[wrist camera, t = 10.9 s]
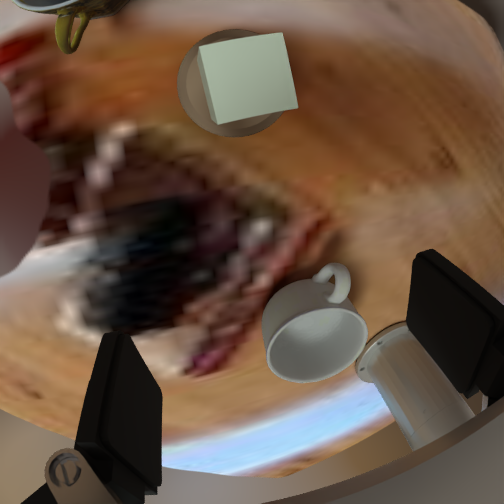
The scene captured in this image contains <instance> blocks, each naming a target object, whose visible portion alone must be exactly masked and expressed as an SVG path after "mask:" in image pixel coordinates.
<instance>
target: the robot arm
mask: <svg viewBox="0 0 504 504" xmlns="http://www.w3.org/2000/svg"><path fill="white" fill-rule="evenodd" d="M355 369H356V373H357V375H358V377H359V378H360V379H361V380H362V381H364V382H368V383H374V384H375V386H376V388H377V389H378V391H379V393H380V394H381V396H382V398H383V399H384V401H385V403H386V405H387V406H388V408H389V410H390V411H391V413H392V415H393V417H394V418H395V420H396V422H397V424H398V425H399V427H400V429H401V431H402V432H403V434H404V436H405V438H406V439H407V441H408V443H409V445H410V447H411V448H412V450H413V452H411V453H409V454H407V455H405V456H403V457H401V458H399V459H397V460H394V461H392V462H390V463H388V464H385V465H383V466H381V467H379V468H376V469H374V470H371V471H369V472H366V473H364V474H361V475H358V476H356V477H353V478H350V479H348V480H345V481H342V482H339V483H336V484H333V485H330V486H327V487H324V488H320V489H317V490H314V491H310V492H307V493H303V494H300V495H296V496H292V497H288V498H284V499H280V500H276V501H271V502H266V503H262V504H504V305H503V304H501V303H500V302H499V301H498V300H497V299H496V298H495V297H493V296H492V295H491V294H490V293H489V292H487V291H486V290H485V289H484V288H483V287H481V286H480V285H479V284H478V283H477V282H475V281H474V280H473V279H472V278H470V277H469V276H468V275H467V274H465V273H464V272H463V271H462V270H460V269H459V268H458V267H457V266H455V265H454V264H453V263H451V262H450V261H449V260H448V259H446V258H445V257H444V256H442V255H441V254H440V253H438V252H437V251H436V250H434V249H429V250H425V251H422V252H419V253H418V254H417V255H416V258H415V259H414V260H413V263H412V275H411V285H410V294H409V302H408V310H407V317H406V322H403V323H399V324H395V325H393V326H391V327H389V328H387V329H385V330H383V331H382V332H381V333H379V334H378V335H376V336H375V337H374V338H373V339H372V340H371V341H370V342H369V343H368V344H367V345H366V346H365V347H364V349H363V351H362V352H361V354H360V355H359V357H358V359H357V362H356V367H355ZM451 383H452V384H451ZM454 387H455V388H454ZM479 390H481V392H482V393H483V403H482V412H480V413H479V414H477V415H476V416H475V415H474V413H473V412H472V410H471V409H470V408H469V406H468V405H467V404H466V402H465V401H464V400H463V398H462V397H461V396H460V394H459V393H463V394H464V395H465V397H466V398H467V399H468V398H470V397H471V396H473V395H474V394H476V393H477V392H479ZM457 391H458V392H459V393H458V392H457ZM45 479H46V483H45V484H44V485H43V486H41V487H40V488H39V489H38V490H37V491H35V492H34V493H33V494H32V495H31V496H29V497H28V498H27V499H26V500H24V501H23V502H22V503H21V504H144V503H145V495H157V486H161V484H162V392H161V389H160V387H159V385H158V384H157V382H156V381H155V379H154V377H153V376H152V374H151V372H150V371H149V369H148V367H147V365H146V364H145V362H144V360H143V359H142V357H141V355H140V353H139V351H138V350H137V348H136V346H135V344H134V342H133V341H132V339H131V337H130V335H128V334H124V333H123V332H122V331H115V332H110V333H105V334H104V335H103V337H102V340H101V343H100V346H99V350H98V353H97V357H96V360H95V364H94V367H93V371H92V375H91V379H90V381H89V383H88V387H87V391H86V395H85V399H84V404H83V408H82V412H81V417H80V421H79V426H78V430H77V435H76V440H75V446H74V449H70V448H65V449H61V450H59V451H57V452H55V453H54V454H53V455H52V456H51V457H50V458H49V460H48V461H47V463H46V467H45Z"/></svg>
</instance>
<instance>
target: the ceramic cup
mask: <svg viewBox="0 0 504 504" xmlns="http://www.w3.org/2000/svg"><path fill="white" fill-rule="evenodd" d="M12 1H13V2H14V3H15V4H16V5H17V6H19V7H20V8H22V9H25V10H28V11H33V12H38V13H44V14H55V15H59V16H58V18H57V21H56V27H55V33H56V40H57V43H58V46H59V48H60V49H61V50H62V52H64V53H65V54H72V53H73V52H75V51H76V50H77V48H78V46H79V44H80V41H81V38H82V35H83V32H84V30H85V29H86V27H87V25H88V23H89V20H92V19H97V18H102V17H107V16H112V15H115V14H116V13H117V12H118V11H119V10H120V9H121V8H122V7H123V6H124V5H125V4H126V3H127V2H128V1H130V0H12ZM74 17H77V18H81V23H80V26H79V28H78V29H77V31H76V33H75V35H74V38H73V41H72V43H70V35H71V30H72V25H73V21H74Z"/></svg>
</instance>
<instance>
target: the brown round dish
mask: <svg viewBox="0 0 504 504" xmlns="http://www.w3.org/2000/svg"><path fill="white" fill-rule="evenodd" d="M258 35H259V34H257V33H254V32H251V31H247V30H239V29H233V30H223V31H220V32H216V33H213V34H211V35H209V36H207V37H205V38H203V39H202V40H200V41H199V42H197V43H196V44H195V45H194V46H193V47H192V48H191V49H190V50H189V52H188V53H187V54H186V56H185V57H184V59H183V61H182V63H181V66H180V68H179V72H178V78H177V90H178V95H179V99H180V102H181V104H182V106H183V108H184V110H185V111H186V113H187V114H188V116H189V117H190V118H191V119H192V120H193V121H194V122H195V123H196V124H197V125H199V126H200V127H202V128H203V129H205V130H207V131H209V132H211V133H214V134H217V135H220V136H225V137H243V136H249V135H252V134H255V133H258V132H260V131H262V130H264V129H266V128H267V127H269V126H270V125H271V124H273V123H274V122H275V121H276V120H277V119H278V118H279V117H280V116H281V114H282V113H283V112H284V111H279V112H273V113H268V114H263V115H258V116H254V117H249V118H244V119H240V120H236V121H231V122H227V123H223V124H219V125H217V124H216V123H215V122H214V121H213V120H211V116H210V112H209V107H208V103H207V99H206V95H205V91H204V87H203V83H202V79H201V74H200V70H199V66H198V62H197V57H198V50H199V46H203V45H208V44H212V43H217V42H222V41H227V40H233V39H239V38H245V37H251V36H258Z"/></svg>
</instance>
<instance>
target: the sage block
mask: <svg viewBox="0 0 504 504" xmlns="http://www.w3.org/2000/svg"><path fill="white" fill-rule="evenodd" d="M197 62H198V66H199V70H200V74H201V79H202V83H203V87H204V91H205V95H206V99H207V103H208V107H209V112H210V116H211V120H213V121H214V122H215V123H216V124H217V125H219V124H223V123H227V122H231V121H236V120H240V119H244V118H249V117H254V116H258V115H263V114H268V113H273V112H279V111H284V110H290V109H295V108H298V103H297V98H296V93H295V88H294V83H293V78H292V73H291V68H290V64H289V59H288V55H287V50H286V46H285V41H284V37H283V33H273V34H265V35H258V36H251V37H245V38H239V39H233V40H227V41H222V42H217V43H212V44H208V45H203V46H199V50H198V57H197Z"/></svg>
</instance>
